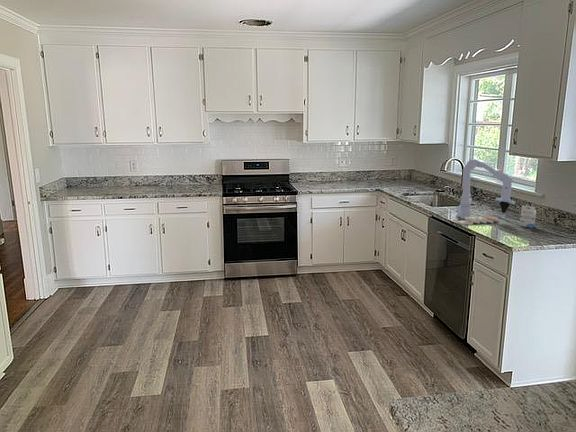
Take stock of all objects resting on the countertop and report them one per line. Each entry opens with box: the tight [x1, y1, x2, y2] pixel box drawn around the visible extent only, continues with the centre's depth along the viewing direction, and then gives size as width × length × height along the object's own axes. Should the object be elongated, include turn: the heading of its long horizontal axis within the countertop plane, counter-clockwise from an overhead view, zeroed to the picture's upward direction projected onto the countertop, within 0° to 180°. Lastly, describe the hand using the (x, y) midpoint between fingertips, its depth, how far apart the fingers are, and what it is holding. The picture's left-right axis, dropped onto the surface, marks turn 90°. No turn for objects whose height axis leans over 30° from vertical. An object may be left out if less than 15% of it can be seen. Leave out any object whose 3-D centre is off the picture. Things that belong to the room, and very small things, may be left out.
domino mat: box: [472, 218, 510, 226], centre depth 301 cm, size 12×29×1 cm, turn 99°
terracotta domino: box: [483, 214, 499, 223], centre depth 301 cm, size 5×2×9 cm
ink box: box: [518, 205, 537, 229], centre depth 290 cm, size 8×5×15 cm, turn 47°
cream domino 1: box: [456, 219, 473, 226], centre depth 296 cm, size 5×2×9 cm
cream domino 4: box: [477, 215, 493, 223], centre depth 299 cm, size 5×2×9 cm
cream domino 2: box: [464, 216, 480, 224], centre depth 297 cm, size 5×2×9 cm
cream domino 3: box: [471, 215, 487, 223], centre depth 298 cm, size 5×2×9 cm
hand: (503, 212), depth 300 cm, fingers closed
